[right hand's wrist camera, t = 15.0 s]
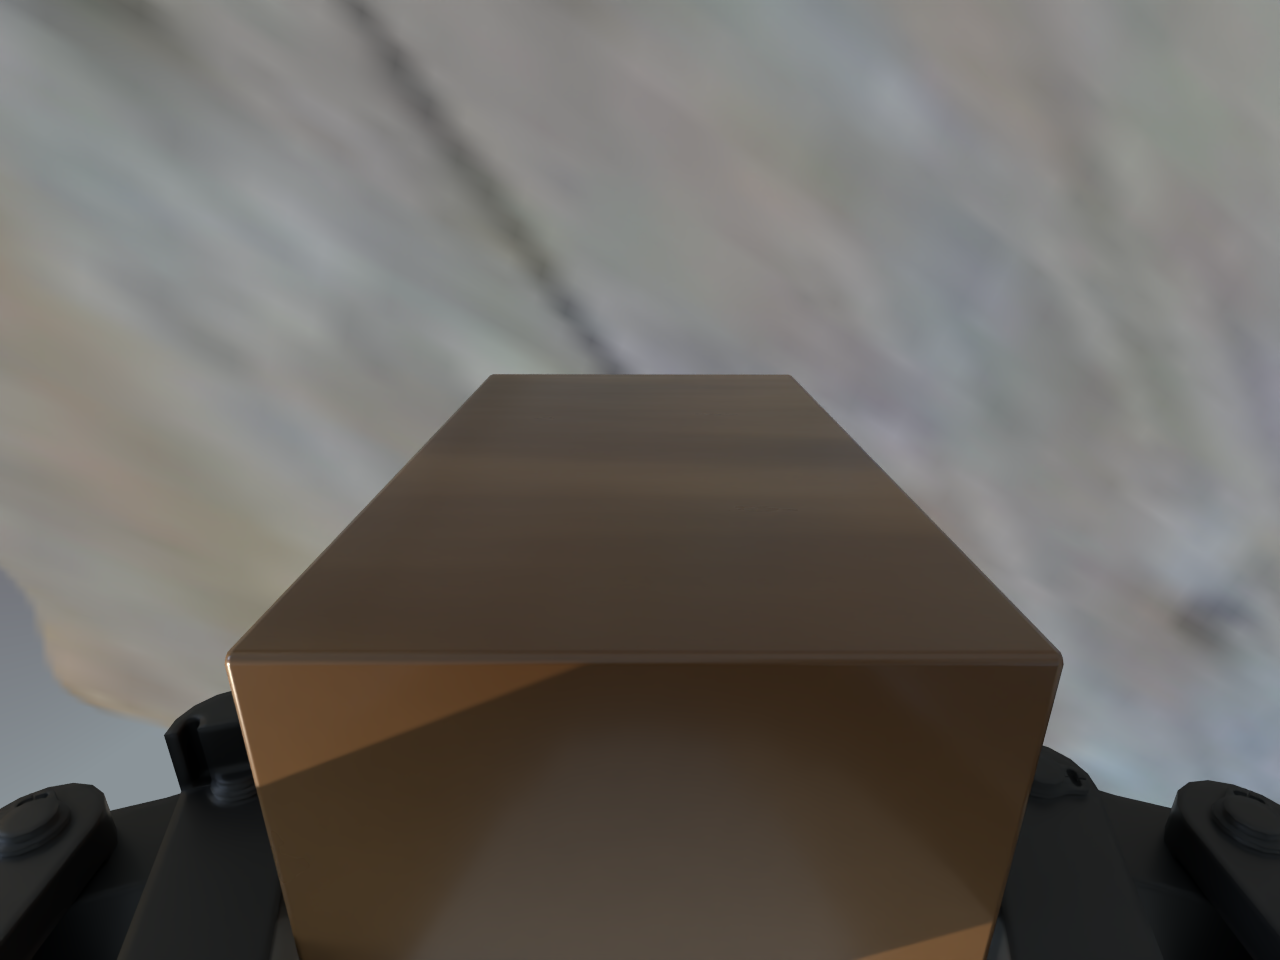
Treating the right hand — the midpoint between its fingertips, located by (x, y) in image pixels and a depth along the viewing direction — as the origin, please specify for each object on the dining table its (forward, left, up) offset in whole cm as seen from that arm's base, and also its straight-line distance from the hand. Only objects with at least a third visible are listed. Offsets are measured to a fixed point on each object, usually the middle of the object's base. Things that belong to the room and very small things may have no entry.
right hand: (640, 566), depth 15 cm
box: (+7, +4, -1) cm, 8 cm away
